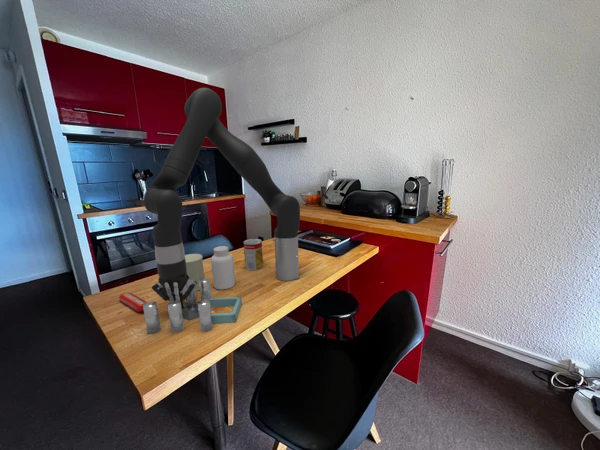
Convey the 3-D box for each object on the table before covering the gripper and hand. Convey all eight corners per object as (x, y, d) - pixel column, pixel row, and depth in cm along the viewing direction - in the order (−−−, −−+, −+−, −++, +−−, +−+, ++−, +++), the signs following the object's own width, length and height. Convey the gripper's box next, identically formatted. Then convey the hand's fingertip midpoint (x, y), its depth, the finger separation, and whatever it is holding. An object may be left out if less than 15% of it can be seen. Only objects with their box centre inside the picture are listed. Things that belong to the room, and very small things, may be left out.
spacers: (226, 298, 85) (224, 277, 83) (210, 331, 68) (207, 305, 67) (173, 301, 85) (170, 279, 83) (145, 334, 68) (140, 307, 66)
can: (184, 281, 99) (181, 253, 96) (208, 280, 100) (205, 252, 97) (175, 293, 90) (170, 262, 87) (201, 291, 91) (198, 260, 88)
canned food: (264, 263, 116) (263, 239, 113) (260, 270, 108) (259, 244, 105) (248, 263, 116) (246, 238, 114) (243, 270, 109) (241, 244, 106)
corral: (241, 303, 82) (241, 297, 81) (235, 322, 72) (234, 314, 72) (210, 305, 82) (210, 298, 81) (200, 323, 72) (199, 316, 71)
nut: (204, 308, 79) (203, 300, 79) (198, 319, 74) (196, 310, 73) (188, 309, 79) (187, 300, 78) (180, 320, 74) (179, 311, 73)
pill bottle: (215, 292, 90) (211, 253, 87) (212, 283, 97) (208, 246, 93) (237, 287, 94) (234, 249, 90) (232, 278, 100) (229, 243, 97)
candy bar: (153, 310, 80) (151, 302, 79) (140, 316, 77) (139, 307, 76) (129, 297, 88) (128, 289, 88) (118, 301, 85) (116, 293, 85)
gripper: (198, 253, 76) (204, 304, 80) (154, 254, 76) (162, 305, 80) (188, 262, 69) (195, 318, 73) (140, 263, 68) (149, 319, 72)
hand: (178, 311), depth 76 cm, fingers closed
